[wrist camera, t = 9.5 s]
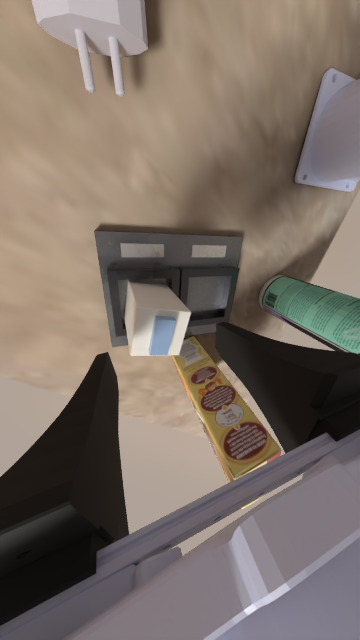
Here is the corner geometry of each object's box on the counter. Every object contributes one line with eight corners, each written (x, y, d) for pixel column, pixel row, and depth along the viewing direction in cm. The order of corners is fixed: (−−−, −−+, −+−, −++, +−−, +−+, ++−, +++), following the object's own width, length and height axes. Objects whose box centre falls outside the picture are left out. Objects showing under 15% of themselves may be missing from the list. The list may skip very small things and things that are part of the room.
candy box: (166, 346, 24) (230, 483, 12) (194, 333, 25) (284, 450, 12) (182, 385, 29) (240, 512, 16) (206, 374, 30) (278, 488, 17)
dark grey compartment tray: (238, 236, 20) (250, 238, 19) (221, 327, 26) (229, 334, 24) (94, 230, 16) (93, 231, 14) (112, 343, 21) (112, 353, 20)
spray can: (263, 316, 28) (489, 457, 11) (254, 290, 25) (548, 429, 8) (291, 296, 28) (560, 406, 11) (286, 266, 25) (645, 358, 8)
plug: (166, 284, 19) (194, 315, 13) (159, 318, 21) (181, 359, 15) (128, 279, 18) (138, 311, 11) (123, 315, 19) (131, 361, 13)
